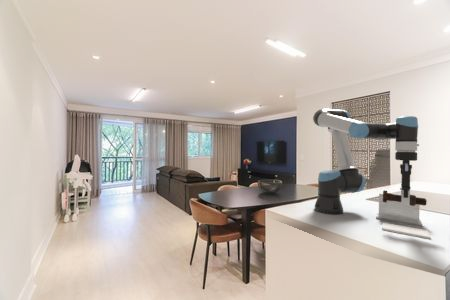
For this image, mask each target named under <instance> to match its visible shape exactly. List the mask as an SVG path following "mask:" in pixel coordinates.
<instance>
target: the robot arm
mask: <svg viewBox="0 0 450 300" xmlns="http://www.w3.org/2000/svg"><path fill="white" fill-rule="evenodd" d="M351 117H352V116H351V114H350V112H349V111H347V110H345V109H340V108H339V109H336V108H335V109H334V108H333V109H332V108H321V109H318V110H316V112H314V114H313V117H312V120H313V123H314V124H315V125H316V126H318V127H321V128H327V130H328V133H330V134H331V136H332V137H331V138H332V141H333V142H332V143H333V146H334V152H335V156H336V161H337V166H338V168H337V170H335V169H334V170H333V169H331V170H322V171H321V172H319V173H318V178H317V180H318V182H317V183H318V186H317V188H318V189H317V192H318V193H317V198H316V201H315V204H314V211H316V212H319V213H323V214H329V215H330V214H331V215H341V214H344V207H343V203H342V201H341V194H342V193H344V194H346V193H350V194H353V193H354V194H355V193H359V192H362V191H363V190H364V188H365V187H366V182H367V181H366V177H365V175H364V174H363V173H360V171H359V168H358V167H356V166H355V163H354V158H353V154H352V150H351V145H350V140H349V137H348V135H349V136H350V137H351V138H353V139H358V140H359V139H360V140H361V139H367V140H369V139H370V140H380V141H384V140H393V139H395V142H394V143H395V144H394V145H395V146H394V147H395V153H394V157H395V160H396V161H402V162H401V164H399V168H400V174H401V184H400V185H401V186H400V188H399V190H400V194H401V195H402V199H401V205H407V206H410V195H411V187H412V186H411V175H412V169H413V165H412V164H410V161H411V162H412V161H415V162H416V161H418V152H416V151H418V147H419V146H420V144H419V143H418V136H419V135H418V132H419V123H418V122H419V121H418V117H417V116H414V115H413V116H412V115H411V116H409V115H407V116H399V117H396V119H395V122H393V123H392V122H390V123H378V122H377V123H374V122H373V123H372V122H363V121H359V120H356V119H351Z"/></svg>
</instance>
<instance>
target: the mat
mask: <svg viewBox="0 0 450 300" xmlns="http://www.w3.org/2000/svg"><path fill="white" fill-rule="evenodd" d="M381 230H382V231H386V232H391V233H392V232H393V233H397V234H401V235H408V236H412V237H413V236H414V237H416V238H417V237H418V238H422V239H428V240H431V239H432V237H431V234H430V233H429V230H427V229H421V228H416V227H412V226H411V227H410V226H404V225H399V224H395V223H388V222H382V226H381Z"/></svg>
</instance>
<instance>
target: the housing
mask: <svg viewBox="0 0 450 300" xmlns="http://www.w3.org/2000/svg"><path fill="white" fill-rule="evenodd" d="M390 193H391V192H390ZM391 194H393V193H391ZM395 194H396V195H401V193H400V194H399V193H395ZM415 196H416V195H415ZM416 197H418V198H420V196H418V195H417V196H416ZM420 206H421V205H416V204H415V206H411V205H410V206H407V205H401V202H397V201H388V200H387V203H386V202H383V191H382V192H381V191H380V192H378V212H377V213H376V215H375V219H376V220H381V221H385V222H392V223H398V224H404V225H409V226H414V227H415V226H417V227H420V228H421V227H423V223H422V221H421V219H420Z"/></svg>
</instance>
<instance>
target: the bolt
mask: <svg viewBox="0 0 450 300" xmlns="http://www.w3.org/2000/svg"><path fill="white" fill-rule="evenodd" d="M382 192H383V202H386V203H387V200H388V201H397V202H401V199H402V195H396V194H397V193H392V194H391V192H388V190H383V191H382ZM427 203H428V201H427V199H426V198H423V197H419V198H418V197H416V195H414V194H410V205H411V206H415V204H416V205H420V206H426V205H427Z"/></svg>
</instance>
